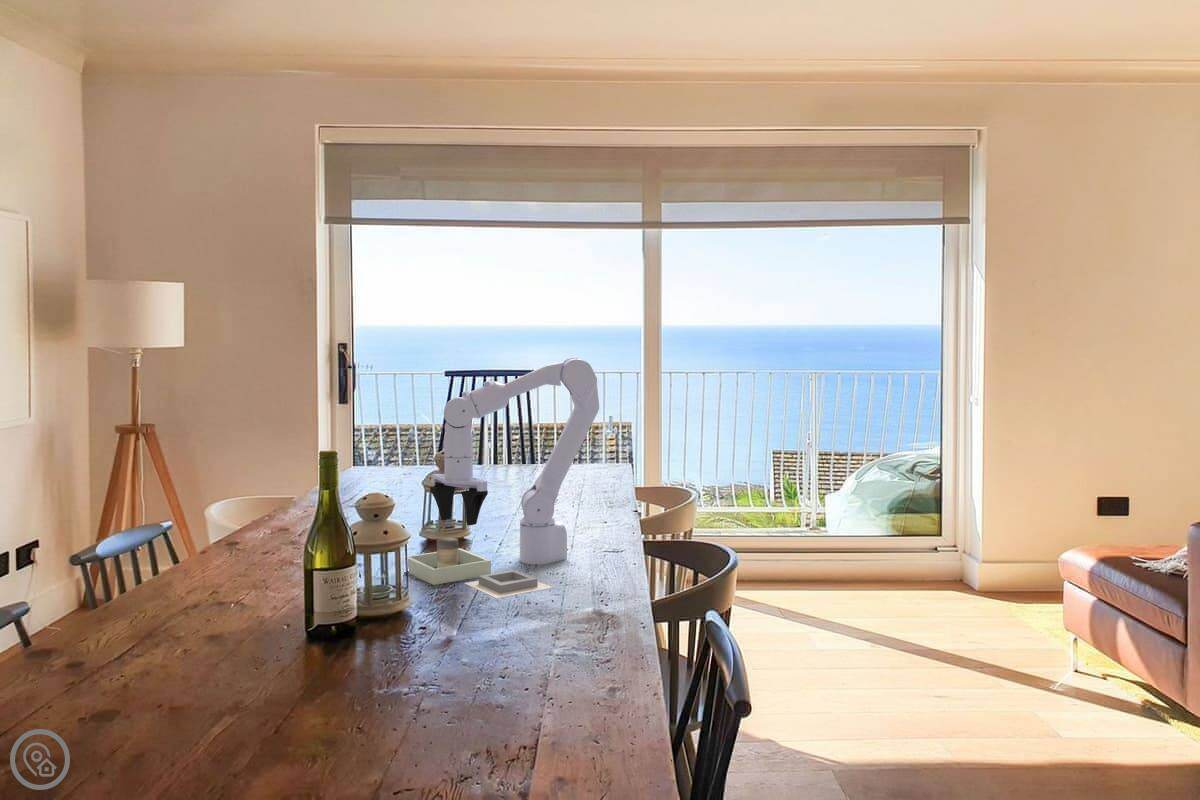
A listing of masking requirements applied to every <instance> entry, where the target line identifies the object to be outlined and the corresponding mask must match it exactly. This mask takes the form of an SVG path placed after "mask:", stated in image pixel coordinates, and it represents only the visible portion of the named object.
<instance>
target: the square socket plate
mask: <svg viewBox="0 0 1200 800" xmlns="http://www.w3.org/2000/svg"><path fill="white" fill-rule="evenodd" d="M463 584H464V585H467V586H469V587H471V588H473V589H475V590H478V591H480V592H482V593H484V594H486V595H488V596H491V597H493V598H495V599H500V598H506V597H511V596H517V595H522V594H526V593H532V592H536V591H542V590H543V591H544V590H547V589H552V588H553V587H552V586H551V585H547V584H546V583H542V582H540V581H538V578H537V577H535V576H532V575H529V574H527V573H524V572H521V571H520V570H517V569H512V570H504V571H500V572H493V573H492V572H491V574H487V575H481V576H479V577H478V579H477V580H474V581H473V580H472V581H468V582H464V583H463Z"/></svg>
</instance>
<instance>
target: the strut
mask: <svg viewBox="0 0 1200 800" xmlns="http://www.w3.org/2000/svg"><path fill="white" fill-rule="evenodd" d="M436 548H437V549H436V552H437V567H436V568H442V567H448V566H454V565H459V563H458V549H459V539H458V538H454V537H442V538H438V539H436Z"/></svg>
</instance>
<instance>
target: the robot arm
mask: <svg viewBox="0 0 1200 800" xmlns="http://www.w3.org/2000/svg"><path fill="white" fill-rule="evenodd" d="M597 377H598V376H597V375H596V373H595V371H594V369H593V367H592V366H591V364H590V363H589V362H587V361H586V360H584V359H580V358H578V357H570V358H567V359H566V360H564V361H556V362H552V363H549V364H546V365H544V366H541V367H539V368H537V369H535V370H533V371H530V372H528V373H526V374H524V375H521V376H520V377H518V378H515V379H513V380H510V381H508V382H506V383H501V382H499V381H492V382H490V380H486V381H484V382H483V385H482V386H480V387H479V388H478V387H477V388H476V389H474V390H471V391H468V392H467V390H465V391H463V392H461V394H462V397H460V396H455V397H453V398H450V400H448V401H447V402H446V404H445V406H444V409H443V416H444V420H445V423H444V431H445V432H444V437H443V443H444V444H443V446H444V449H443V451H444V452H443V453H444V454H443V455H444V461H443V462H444V471H443V472H444V473H433V474H431V475H430V483H431V485H433V486H430V487H429V491H430V493H431V494H432V496H433V499H434V500H435V502H436V505H437V510H438V513H439V517H440V519H441V521H443V522H444V521H448V520H451V519H452V513H453V511H452V510H453V500H454V495H455V492H456V491H455V490H456V488H461V489H468V490H463V491H461V493H460V494H461V497H462V500H463V504H464V508H465V509H464V510H465V523H466V526H469V527H470V526H474V525H477V523H478V518H479V515H480V511H481V508H482V505H483V503H484V501H485V499H486V497H488V496H487V495H488V494H489V490H488V481H487V480H484V479H480V478H478V477H474V475H473V474H474V472H473V470H474V468H473V466H474V463H473V457H474V456H473V453H474V452H473V449H474V448H473V447H474V446H473V445H474V444H473V443H474V441H473V440H474V439H473V435H474V434H473V433H472V420H473V419H477V420H478V419H481V418H484V417H485V416H489V415H491V414H492V413H495V412H497V411H499V410H502V409H505V408H507V406H508V404H509V401H510V399H512V398H515V397H517V396H519V395H523V394H525V393H527V392H530V391H532V390H535V389H537V388H540V387H543V386H546V385H547V386H549V385H550V386H558V387H561V386H562V384H563V385H564V387H565V388H566V389H567V390H568V392H569V395H570V398H571V400H572V403H573V405H574V408H573V410H572V411H571V413H570V416H569V417H568V420H567V421H566V424H565V426H564V427H563V428H562V431H561V434H560V436H559V437H558V439H557V441H556V443H555V445H554V447H553V449H552V451H551V453H550V455H549V457H548V459H547V460H546V462H545V464H544V467H543V469H542V471H541V473H540V474H539V476H538V477H537V478H536V479H535V482H534V483H533V485H532V486H530V488H529V489H527V490H526V491H525V492H524V493H523V495H522V497H521V502H520V504H521V507H522V513H523V517H522V518H521V519H520V520H519V561H520V562H521V563H523V564H527V565H547V564H551V563H555V562H558V561H565V560H566V561H567V560H568V533H567V529H566V527H565V524H564V523H563V522H562V521H560V520H555V518H553V516H554V514H555V503H556V500H557V498H558V496H559V492H560V489H561V486H562V484H563V483H564V482H563V481H564V479H565V478H566V476H567V473H568V471H569V470H570V468H571V466H572V464H573V462H574V460H575V458H576V456H577V454H578V453H579V451H580V448H581V446H582V444H583V442H584V440H585V439H586V436H587V434H588V433H589V430H590V428H591V427H592V424H593V422H594V420H595V419H596V416H597V414H598V413H599V410H600V401H599V390H598V378H597ZM561 382H562V383H561Z"/></svg>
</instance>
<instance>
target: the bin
mask: <svg viewBox="0 0 1200 800" xmlns="http://www.w3.org/2000/svg"><path fill="white" fill-rule="evenodd" d="M407 557H408V567H409V573H408V574H410V575H412V576H415V577H416V578H418V579H419V580H422V581H424V582H426V583H429V584H430V585H432V586H436V585H441V584H447V583H452V582H458V581H463V580H465V581H466V580H469V579H476V578H479V576H481V575H487V574H492V560H490V559H488V558H486V557H483V556H480V555H478V554H476V553H473V552H471V551H469V550H465V549H464V548H459V547H458V565H454V566H448V567H442V568H437V551H433V552H428V553H420V554H414V555H413V554H412V555H407Z"/></svg>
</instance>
